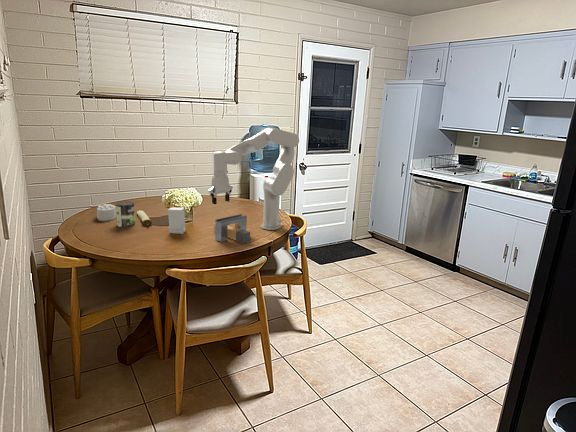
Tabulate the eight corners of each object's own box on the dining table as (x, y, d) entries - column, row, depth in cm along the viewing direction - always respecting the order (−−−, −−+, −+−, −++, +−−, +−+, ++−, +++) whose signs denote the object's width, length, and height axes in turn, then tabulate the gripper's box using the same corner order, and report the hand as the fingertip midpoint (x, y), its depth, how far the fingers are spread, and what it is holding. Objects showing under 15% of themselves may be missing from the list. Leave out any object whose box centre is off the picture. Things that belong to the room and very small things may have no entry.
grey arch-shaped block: (240, 233, 236) (240, 213, 233) (246, 235, 233) (246, 215, 230) (215, 239, 222) (215, 219, 219) (221, 242, 219) (221, 221, 216)
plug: (220, 231, 237) (220, 221, 236) (250, 242, 221) (250, 231, 220) (213, 233, 234) (213, 223, 232) (243, 244, 217) (243, 233, 216)
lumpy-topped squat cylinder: (117, 215, 258) (116, 203, 256) (112, 221, 246) (111, 208, 244) (100, 215, 256) (99, 203, 254) (95, 221, 244) (93, 207, 242)
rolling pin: (153, 228, 236) (152, 220, 235) (143, 229, 234) (142, 221, 232) (144, 215, 264) (144, 208, 262) (135, 216, 261) (135, 208, 260)
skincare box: (185, 231, 234) (185, 207, 230) (183, 234, 228) (182, 209, 224) (171, 230, 234) (170, 206, 230) (168, 234, 228) (167, 209, 224)
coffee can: (138, 224, 243) (137, 202, 239) (129, 229, 233) (127, 205, 229) (123, 222, 245) (122, 200, 241) (113, 227, 235) (111, 204, 231)
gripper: (227, 171, 233) (228, 199, 237) (204, 174, 220) (204, 203, 225) (236, 172, 228) (236, 201, 233) (212, 175, 215) (213, 206, 220)
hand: (220, 202), depth 229 cm, fingers open, 9 cm apart
